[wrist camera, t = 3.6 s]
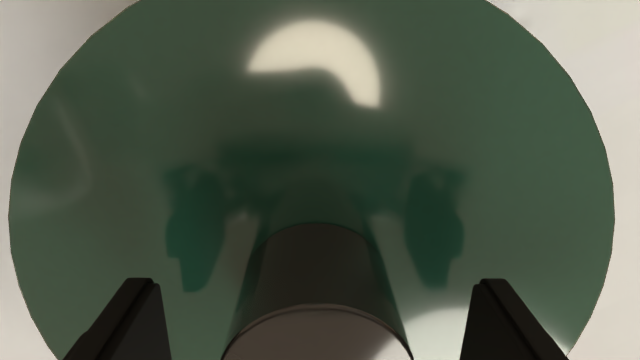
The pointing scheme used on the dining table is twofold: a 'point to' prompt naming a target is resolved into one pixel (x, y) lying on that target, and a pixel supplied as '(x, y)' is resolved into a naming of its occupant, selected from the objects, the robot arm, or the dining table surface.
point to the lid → (311, 178)
